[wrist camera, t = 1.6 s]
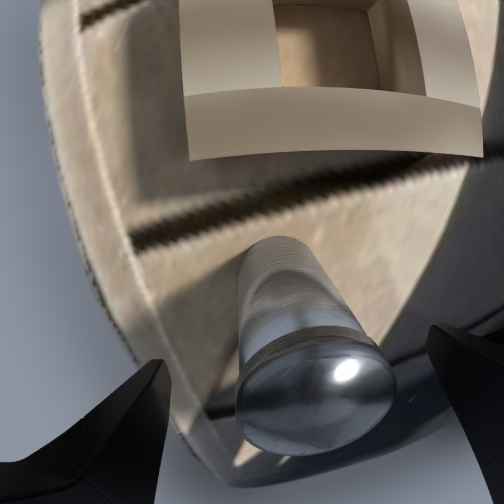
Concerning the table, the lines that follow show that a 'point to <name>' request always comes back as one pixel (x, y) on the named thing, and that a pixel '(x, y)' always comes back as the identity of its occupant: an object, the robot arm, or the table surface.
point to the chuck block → (328, 98)
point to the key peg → (303, 356)
